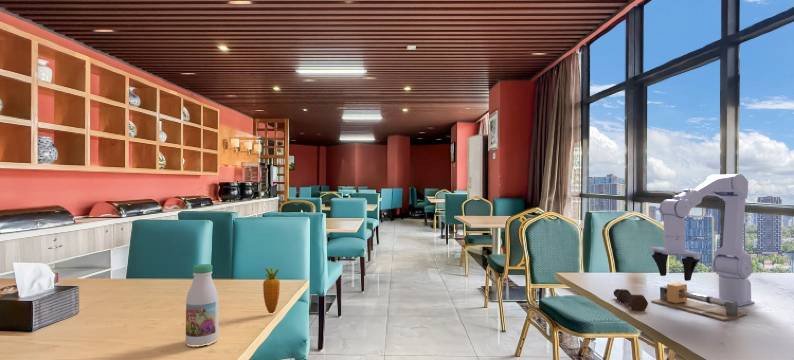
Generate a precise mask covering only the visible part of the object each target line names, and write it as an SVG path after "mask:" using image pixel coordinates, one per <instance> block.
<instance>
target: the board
mask: <svg viewBox="0 0 794 360" xmlns="http://www.w3.org/2000/svg"><path fill="white" fill-rule="evenodd" d="M650 303H653V304H656V305H660V306H664V307H667V308H668V307H669V308H672V309H676V310H679V311H683V312H688V313H691V314H695V315H699V316H703V317H706V318H710V319H714V320H718V321H722V322H727V321H731V320H735V319H739V318H743V317H746V316H748V315H747V314H748V313H746V312H742V311H738V316H734V317H731V316H727V315H726V308H725V307H721V306H716V305H713V304H708V303H703V302H699V301H695V300H691V299H690V300H689V299H687V301H685V302H680V303H673V302H669V301H667V300H662V299H660V298H658V299H653V300H651V301H650Z"/></svg>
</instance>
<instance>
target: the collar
mask: <svg viewBox="0 0 794 360" xmlns="http://www.w3.org/2000/svg"><path fill="white" fill-rule="evenodd" d="M666 286H667V301H669V302H673V303H680V302H685V301H687V300H688V298H685V297H681V296H679V290H681V291H686V292H688V283H687V284H686V283H683V282H682V283H681V282H673V283H667V284H666Z"/></svg>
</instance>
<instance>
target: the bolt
mask: <svg viewBox="0 0 794 360" xmlns="http://www.w3.org/2000/svg"><path fill="white" fill-rule="evenodd" d="M613 295H614V297H615V298H616V299H617V300H618V302H619V303H622V304H624V303H625V304H628V305H629V307H630V308H631V310H632V311H634V312H645V311H646V309H647V308H648V305H649V303H648V301H647V299H646V298H645V296H644V295H643V294H631V292H630V291H629V290H628V289H627V288H626V289H625V288H621V289H619V288H617V289H614V290H613Z"/></svg>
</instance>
